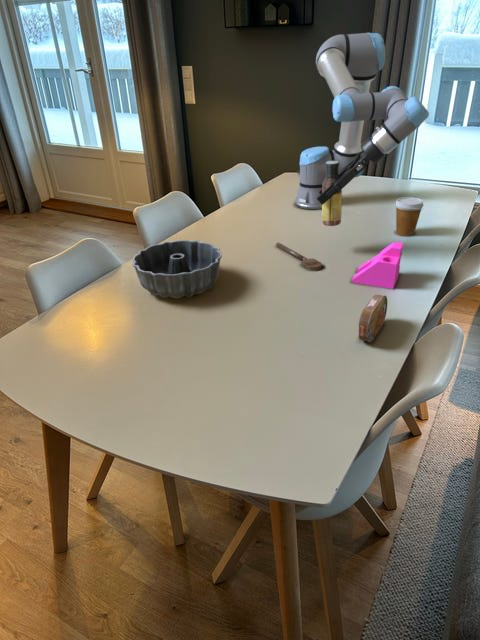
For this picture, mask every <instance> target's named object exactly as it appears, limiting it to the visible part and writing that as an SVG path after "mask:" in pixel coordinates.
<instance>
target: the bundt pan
mask: <svg viewBox="0 0 480 640" xmlns="http://www.w3.org/2000/svg"><path fill="white" fill-rule="evenodd" d="M220 249H221V248H220V247H217V246H215V245H214V244H213V243H210V242H204V241H200V240H187V239H179V240H174V241H164V242H162V243H155V244H152V245H150V246H149V245H148V246H147V247H146V248H145V249H140V250H139V251H138V253H137V254H135V255H134V256H133V257H132V262H133V263H132V267H133V268H134V269H135V270H134V271H135V273H136V275H137V278H138V281H139V283H140V285H141V286H142V288H144V289H145V290H147V291H148V292H149V294H151V295H154V296H159V297H161V298H162V299H167V298H169V297H170V298H172V299H181V298H182V297H184V296H185V297H187V298H191V297H192V296H193V295H198V294H202V293H204V292H206V290H209V289H211V288H212V287H213V286H214V285H215V284H216V280H217V279H218V277H219V272H220V265H221V264H220V263H221V259H222V257H223V254H222V252H221V251H220Z"/></svg>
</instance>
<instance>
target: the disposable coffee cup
mask: <svg viewBox="0 0 480 640" xmlns="http://www.w3.org/2000/svg"><path fill="white" fill-rule="evenodd" d="M424 206H425V205H424V201H423V199H420V198H418V197H411V196H405V197H403V196H402V197H399V198H398V199H397V200H396V202H395V207H396V209H395V214H396V215H395V219H396V220H395V234H397V235H398V236H402V237H410V236H414V235H415V232H416V228H417V225H418V222H419V218H420V215H421V211H422V209H423V207H424Z"/></svg>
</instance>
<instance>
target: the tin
mask: <svg viewBox="0 0 480 640" xmlns="http://www.w3.org/2000/svg"><path fill="white" fill-rule="evenodd" d="M387 310H388V297H387V296H386V295H381V294H374V295H373V296H372V297H371V299H369V301H368V303H367V304H366V305H365V306H364V308H363V309H362V312H361V314H360V316H359V319H358V320H359V321H358V339H359V340H361V341H363V342H364V341H365V342H368V343H372V342H373V341H374V339H375V337H376V336H377V334H378V333H379V332H380V330H381V329H382V327H383V325H384V322H385V320H386V316H387V312H388V311H387Z"/></svg>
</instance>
